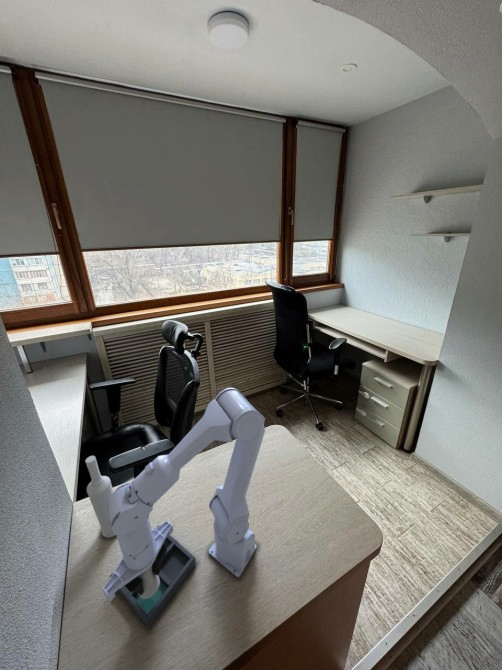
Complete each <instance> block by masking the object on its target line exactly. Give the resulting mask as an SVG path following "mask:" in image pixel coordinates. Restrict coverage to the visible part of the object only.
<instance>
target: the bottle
mask: <svg viewBox="0 0 502 670" xmlns="http://www.w3.org/2000/svg"><path fill="white" fill-rule="evenodd" d="M85 464H86V467H87V470H88V472H89V473H88V474H89V476H90V478H91V481H90V482H89V483H88V485H87V486H86V493H87V495H88V497H89V501H90V503H91V506H92V508H93V510H94V513H95V516H96V518H97V521H98V524H99V527H100V529H99V531H100V533H101V534H102V536H103V537H105V538H106V539H110V538H113V537H116V535H115V534H114V533H113V531H112V527H111V517H110V506H109V503H108V502H109V500H110V497H111V496H112V494H113V493H114V489H113V485H112V481H111V479H110V477H109V476H107V475H101V471H100V469H99V465H98V461H97V458H96V456H95V455H90V456H88V457H87V458H86V459H85Z"/></svg>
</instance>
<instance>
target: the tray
mask: <svg viewBox="0 0 502 670" xmlns="http://www.w3.org/2000/svg"><path fill="white" fill-rule="evenodd" d="M159 526H160V525H157V526H156V527H155V528H154V529H156V528H157V527H159ZM163 544H164V545H165V546H166V548H167V553H166V554H165V556H164V558H163V561H162V564H161V568H160V573H159V574H158V577H159V580H160V583H159V588H158V590H157V592H156V593H155V594H154V595H153V596H152V597H150V598H147V599H143V598H141V597H140V596H139V594H138V592H136V591H135V592H133V593H132V592H130V591H129V590H128V589H127V588H126V587H125V586H123V587H121V588H120V589H118V590H117V592H119V594H120V595H121V596H122V597H123V599H124V600H125V601H126V602H127V603H128V604H129V606H130V607H131V608H132V610H133V611H134V612H135V613H136V614H137V616H138V617H139V618H140V619H141V620H142V622H143V623H144V624H145V626H146V627H147V628H148V629H149V628H150V627H151V626H152V624H153V623H154V622H155V620H156V619H157V618H158V616H159V615H160V613H161V612H162V611H163V609H164V608H165V607H166V606H167V604H168V603H169V601H170V600H171V599H172V597H173V596H174V594H175V593H176V592H177V590H178V589H179V588H180V586H181V585H182V584H183V582H184V581H185V580H186V578H187V577H188V575H189V574H190V573H191V571H192V570H193V568H194V567H195V566H196V565H197V563H196V557H195V556H194V555H193V554H192V553H191V552H190V551H189V550H188V549H186V547H184V546H183V545H182V544H180V542H178V541H177V539H175V538H174V537H173V536H172V535H171V534H168V535H167V537H166V539H165V541H164V543H163ZM113 573H114V571H113V572H112V573H111V574H110V575H109V579H110V578H111V576H112V574H113Z"/></svg>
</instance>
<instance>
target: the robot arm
mask: <svg viewBox="0 0 502 670" xmlns="http://www.w3.org/2000/svg"><path fill="white" fill-rule="evenodd" d="M248 400H249V399H247V398H246V396H245V395H244V394H243V393H242V392H240V390H239V389H237V388H235V387H227V388H224V389H222V390H221V391H219V393H218V394H217V395H216V396H215V398H213V399H212V400H211V401H210V402H208V405H207V406H206V409H205V411H204V413H203V414H204V415H202V417H201V418H200V419H199V420H198V422H197V423H195V425H194V426H193V427H192V428H191V429H190V430H189V431H188V433H186V435H185V436H184V437H183V438H182V439H181V441H179V443H177V445H176V446H174V448H173V449H172V450H171V451H170V452H169V454H162V455H157V457H156V458H155V459H153V460H152V461H151V462H149V463H148V464H147V465H145V467H144V469H143V470H142V471H141V472H140V473H139V474H138V475H137V476H136V477H135V478H134V479H133V480H132V481H131V482H126V483H123V484H122V485H120V486H118V487H117V488H116V489H115V490H113V494H112V496H111V497H110V500H109V502H108V503H109V506H110V517H111V527H112V531H113V533H114V534H115V537H116V538H117V542H118V545H119V548H120V552H121V554H122V558H121V560H120V561H119V563H118V564H117V566H116V568H115V570H114V571H113V572H114V573H113V572H112V573H113V574H112V573H111V574H112V576H111V578H110V577H109V578H108V581H107V582H106V583H105V585H103V587H102V588H101V591H102V593H103V595H104V596H105V598H107V600H108V602H110V603H111V602H112V601H113V600H114V599H115V598H116V592H118V589H120V588H121V587H123V586H125V587H126V588H127V589H128V590H129V591H130V592H132V593H133V592H135V591H136V592H138V593H139V594H140V596H141V595H142V594H143V593H144V590H143V587H142V581H143V580H142V579H141V578H140V577H139V575H140V574H142V573H143V572H144V571H146V570H147V569H148V568H149V567H150V566H151V565H152V571H153V572H154V573H155V574H156V575H157V576H158V574H159V573H160V568H161V564H162V561H163V558H164V556H165V554H166V553H167V548H166V546H165V545H164V544H163V543H164V541H165V539H166V537H167V535H168V534H169V535H171V534H173V532H174V531H175V530H174V526H173V524H172V523H171V522H170V521H169V520H167V519H166V520H165V521H164V522H162V524H160V525H159V527H157V526H156V527H157V528H156V527H155V528H156V529H155V528H154V529H152V525H151V520H150V514H151V513H152V511H153V509H154V505H155V504H157V502H158V501H159V500H160V499H162V497H163V496H164V495H165V494H166V493H167V492H168V491H170V489H171V488H172V487H173V486H174V485H175V484H176V483H177V482H178V481H179V479H180V475H181V469H182V468H184V467H185V466H186V465H187V464H188V463H189V462H191V461H192V460H193V459H194V458H195V457H196V456H198V455H199V454H200V453H201V452H202V451H203V450H205V448H207V447H208V446H209V445H211V443H212V442H214V441H218V442H225V443H233V439H232V437H234V438H235V443H234V446H233V450H232V453H231V457H230V459H229V464H228V468H227V471H226V475H225V480H224V483H223V484H222V485H220V486H217V487H216V488H215V491H214V494H213V495H212V497H211V499H210V500H209V502H208V508H209V510H210V512H211V513H212V515H213V518H214V520H213V531H214V542H213V543H212V545H211V546H210V548H209V549H208V554H209V555H210V556H211V557H212V558H214V559H215V560H216V561H217V562H218V563H219V564H221V565H222V566H223V567H225V569H227V570H228V571H229V572H230V573H231V574H233V575H234V576H235V577H236V578H240V577H241V576H242V573H244V570H245V568H246V566H247V565H248V564H249V562H250V560H251V558H252V556H253V555H254V553H255V552H256V549H257V547H258V546H257V544H256V534H255V533H254V532H253V531H252V530H250V529H249V527H250V522H249V518H250V510H249V506H248V503H247V502H248V501H247V498H246V497H247V492H248V490H249V486H250V482H251V479H252V476H253V472H254V470H255V467H256V463H257V459H258V456H259V452H260V451H261V446H262V442H263V439H264V436H265V432H266V428H265V421H266V418H265V417H264V415H263V414H261V412H260V411H258V410H257V409H256V408H255V407H254V405H252V404H251V402H250V401H248Z"/></svg>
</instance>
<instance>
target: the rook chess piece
mask: <svg viewBox="0 0 502 670" xmlns="http://www.w3.org/2000/svg"><path fill="white" fill-rule="evenodd" d="M139 577H140V578H141V579H142V580H143V581H142V587H143V590H144V593H143V594H142V595H141V596H140V594H139V593H138V594H139V596H140V597H141V598H143V599H147V598H150V597H152V596H153V595H154V594H155V593H156V592H157V590H158V588H159V583H160V580H159V577H158V576H157V575H156V574H155V573H154V572H153V571H152V565H151V566H150V567H149V568H148V569H147V570H146V571H144V572H143V573H142V574H140V575H139Z"/></svg>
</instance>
